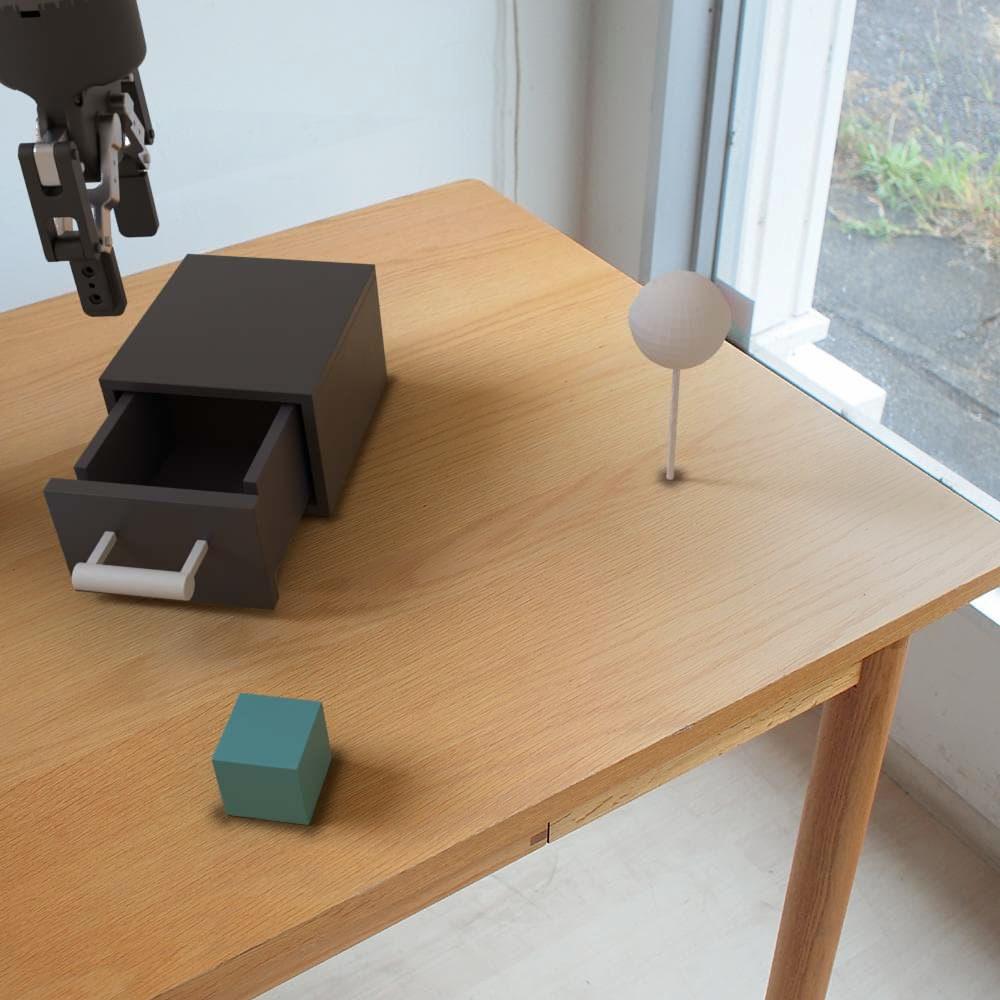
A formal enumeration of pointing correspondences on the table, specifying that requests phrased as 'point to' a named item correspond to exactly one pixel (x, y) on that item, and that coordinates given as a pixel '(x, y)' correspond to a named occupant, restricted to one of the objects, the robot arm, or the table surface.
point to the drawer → (185, 500)
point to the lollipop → (679, 329)
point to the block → (272, 758)
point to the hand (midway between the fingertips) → (124, 272)
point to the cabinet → (267, 349)
